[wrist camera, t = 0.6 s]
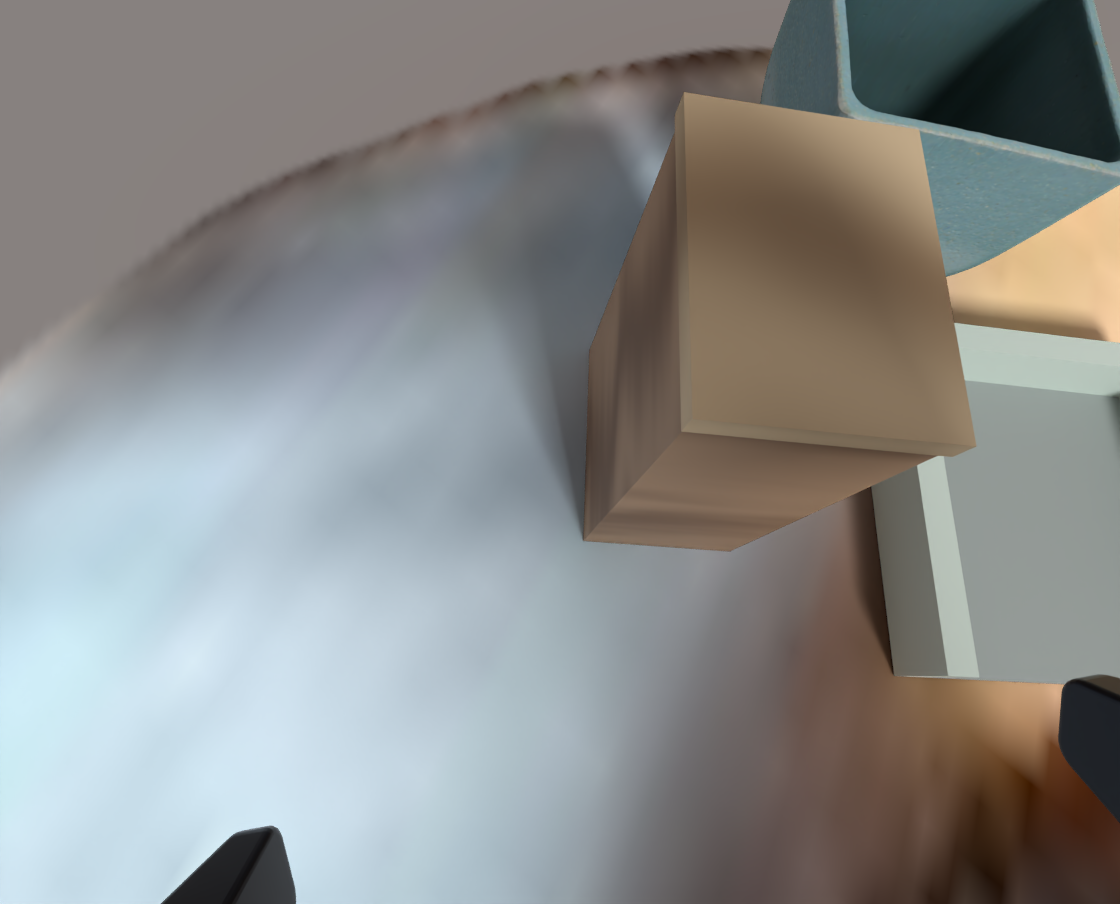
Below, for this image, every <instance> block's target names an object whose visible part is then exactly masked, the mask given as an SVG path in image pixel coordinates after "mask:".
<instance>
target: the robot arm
mask: <svg viewBox="0 0 1120 904" xmlns="http://www.w3.org/2000/svg"><path fill="white" fill-rule="evenodd" d="M1058 741H1059V746H1060V749H1061V752H1062V754H1063V756H1064V758H1065V759H1066V761H1067V762H1068V764H1069V765H1070V766H1071V767H1072V768H1073V770H1074V771H1075V772H1076V773H1077V774H1078V775H1079V777H1080V778H1081V779H1082V780H1083V781H1084V782H1085V784H1086V785H1087V786H1088V787H1089V788H1090V789H1091V790H1092V792H1093V793H1094V794H1095V795H1096V796H1097V797H1098V799H1099V800H1100V801H1101V802H1102V803H1103V804H1104V805H1105V807H1106V808H1107V809H1108V810H1109V811H1110V812H1111V814H1112V815H1113V816H1114V817H1115V818H1116V819H1117V821H1118V822H1119V823H1120V678H1118V677H1114V676H1110V675H1104V674H1097V675H1091V676H1086V677H1080V678H1075V679H1071V680H1069V681H1068V682H1066V684H1065V685H1064V687H1063V689H1062V696H1061V709H1060V722H1059V735H1058ZM161 904H296V893H295V886H294V882H293V878H292V874H291V870H290V866H289V862H288V858H287V854H286V850H285V846H284V842H283V838H282V835H281V833H280V831H279V830H278V828H276V827H274V826H266V827H260V828H255V829H249V830H244V831H240V832H237V833H235V834H233V835H232V836H231V837H230V838H229V839H227V840H226V841H225V842H224V843H223V844H222V845H221V846H220V847H219V848H218V849H217V850H216V851H215V852H214V853H213V854H212V855H211V856H210V857H209V858H208V859H207V860H206V861H205V862H204V863H203V864H201V865H200V866H199V867H198V868H197V869H196V870H195V871H194V872H193V873H192V874H191V875H190V876H189V877H188V878H187V879H186V880H185V881H184V882H183V883H182V884H181V885H180V886H179V887H178V888H177V889H176V890H175V891H173V892H172V893H171V894H170V895H169V896H168V897H167V898H166V899H165V900H164V901H163V902H162V903H161Z"/></svg>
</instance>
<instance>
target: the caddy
mask: <svg viewBox="0 0 1120 904" xmlns="http://www.w3.org/2000/svg"><path fill="white" fill-rule="evenodd" d="M974 447H977V445H976V440H975V434H974V429H973V423H972V418H971V412H970V407H969V401H968V396H967V390H966V385H965V379H964V374H963V368H962V363H961V357H960V352H959V346H958V341H957V335H956V330H955V324H954V319H953V313H952V308H951V302H950V297H949V291H948V286H947V280H946V275H945V269H944V264H943V258H942V253H941V247H940V242H939V236H938V231H937V225H936V220H935V214H934V209H933V203H932V198H931V192H930V187H929V181H928V176H927V170H926V165H925V159H924V154H923V148H922V143H921V137H920V132H919V129H913V128H906V127H900V126H894V125H888V124H881V123H875V122H869V121H863V120H856V119H850V118H844V117H837V116H831V115H825V114H819V113H812V112H806V111H800V110H793V109H787V108H781V107H775V106H768V105H762V104H756V103H750V102H743V101H737V100H731V99H724V98H718V97H712V96H706V95H699V94H693V93H687V92H684V93H683V95H682V98H681V101H680V103H679V106H678V109H677V111H676V114H675V133H674V135H673V138H672V140H671V143H670V145H669V148H668V151H667V153H666V156H665V158H664V161H663V163H662V166H661V168H660V171H659V174H658V176H657V179H656V181H655V184H654V186H653V189H652V191H651V194H650V197H649V199H648V202H647V204H646V207H645V209H644V212H643V214H642V217H641V220H640V222H639V225H638V227H637V230H636V232H635V235H634V237H633V240H632V243H631V245H630V248H629V250H628V253H627V255H626V258H625V260H624V263H623V266H622V268H621V271H620V273H619V276H618V278H617V281H616V284H615V286H614V289H613V291H612V294H611V296H610V299H609V301H608V304H607V307H606V309H605V312H604V314H603V317H602V319H601V322H600V324H599V327H598V330H597V332H596V335H595V337H594V340H593V342H592V345H591V347H590V350H589V376H588V407H587V439H586V470H585V502H584V533H583V541H592V542H606V543H620V544H633V545H647V546H661V547H675V548H689V549H703V550H717V551H732V550H734V549H736V548H738V547H740V546H742V545H745V544H747V543H749V542H751V541H753V540H756V539H758V538H760V537H762V536H764V535H766V534H769V533H771V532H773V531H775V530H777V529H779V528H782V527H784V526H786V525H788V524H790V523H792V522H795V521H797V520H799V519H801V518H803V517H806V516H808V515H810V514H812V513H814V512H816V511H819V510H821V509H823V508H825V507H827V506H829V505H832V504H834V503H836V502H838V501H840V500H842V499H845V498H847V497H849V496H851V495H853V494H856V493H858V492H860V491H862V490H864V489H866V488H869V487H871V486H873V485H875V484H877V483H879V482H882V481H884V480H886V479H888V478H890V477H893V476H895V475H897V474H899V473H901V472H903V471H906V470H908V469H910V468H912V467H914V466H916V465H919V464H921V463H923V462H925V461H927V460H929V459H932V458H934V457H936V456H946V457H954V456H956V455H958V454H961V453H963V452H965V451H967V450H970V449H972V448H974Z"/></svg>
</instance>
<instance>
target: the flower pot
mask: <svg viewBox="0 0 1120 904" xmlns="http://www.w3.org/2000/svg"><path fill="white" fill-rule="evenodd" d="M1100 26H1101V25H1100V22H1099V20H1098V15H1097V10H1096V6H1095V3H1094V0H791V1H790V4H789V6H788V9H787V12H786V14H785V17H784V20H783V23H782V25H781V28H780V31H779V34H778V36H777V39H776V42H775V45H774V48H773V51H772V54H771V57H770V61H769V64H768V68H767V72H766V76H765V81H764V85H763V90H762V96H761V103H760V104H762V105H768V106H775V107H781V108H787V109H793V110H800V111H806V112H812V113H819V114H825V115H831V116H837V117H844V118H850V119H856V120H863V121H869V122H875V123H881V124H888V125H894V126H900V127H906V128H913V129H919V132H920V137H921V143H922V148H923V154H924V159H925V165H926V170H927V176H928V181H929V187H930V192H931V198H932V203H933V209H934V214H935V220H936V225H937V231H938V236H939V242H940V247H941V253H942V258H943V264H944V269H945V275H946V277H947V276H950V275H954V274H956V273H959V272H962V271H965V270H968V269H970V268H973V267H975V266H977V265H979V264H982V263H984V262H986V261H988V260H990V259H992V258H994V257H996V256H998V255H1000V254H1001V253H1003V252H1005V251H1007V250H1009V249H1010V248H1012V247H1014V246H1016V245H1017V244H1019V243H1021V242H1023V241H1025V240H1026V239H1028V238H1030V237H1032V236H1033V235H1035V234H1037V233H1038V232H1040V231H1042V230H1043V229H1045V228H1047V227H1049V226H1050V225H1052V224H1054V223H1056V222H1057V221H1059V220H1061V219H1062V218H1064V217H1066V216H1067V215H1069V214H1071V213H1073V212H1074V211H1076V210H1078V209H1079V208H1081V207H1083V206H1084V205H1086V204H1088V203H1090V202H1091V201H1093V200H1095V199H1096V198H1098V197H1100V196H1102V195H1103V194H1105V193H1107V192H1108V191H1110V190H1112V189H1113V188H1115V187H1117V186H1118V185H1120V96H1119V91H1118V88H1117V84H1116V81H1115V77H1114V73H1113V70H1112V67H1111V66H1112V64H1111V62H1110V58H1109V56H1108V53H1107V50H1106V47H1105V42H1104V39H1103V36H1102V31H1101V27H1100Z"/></svg>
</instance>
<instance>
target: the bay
mask: <svg viewBox="0 0 1120 904" xmlns="http://www.w3.org/2000/svg"><path fill="white" fill-rule="evenodd" d="M954 324H955V330H956V335H957V341H958V346H959V352H960V357H961V363H962V368H963V374H964V379H965V385H966V390H967V396H968V401H969V407H970V412H971V418H972V423H973V429H974V434H975V440H976V445H977V447H974V448H972V449H970V450H967V451H965V452H963V453H961V454H958V455H956V456H954V457H946V456H936V457H934V458H932V459H929V460H927V461H925V462H923V463H921V464H919V465H916V466H914V467H912V468H910V469H908V470H906V471H903V472H901V473H899V474H897V475H895V476H893V477H890V478H888V479H886V480H884V481H882V482H879V483H877V484H875V485H873V486H871V489H872V497H873V505H874V513H875V522H876V530H877V538H878V546H879V555H880V563H881V571H882V579H883V587H884V596H885V604H886V612H887V620H888V629H889V637H890V645H891V653H892V662H893V670H894V676H908V677H928V678H948V679H968V680H988V681H1008V682H1029V683H1049V684H1066V682H1068V681H1069V680H1071V679H1075V678H1080V677H1086V676H1091V675H1097V674H1104V675H1110V676H1114V677H1118V678H1120V343H1115V342H1107V341H1099V340H1091V339H1083V338H1074V337H1066V336H1058V335H1050V334H1042V333H1033V332H1025V331H1017V330H1009V329H1001V328H992V327H984V326H976V325H968V324H960V323H954Z"/></svg>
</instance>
